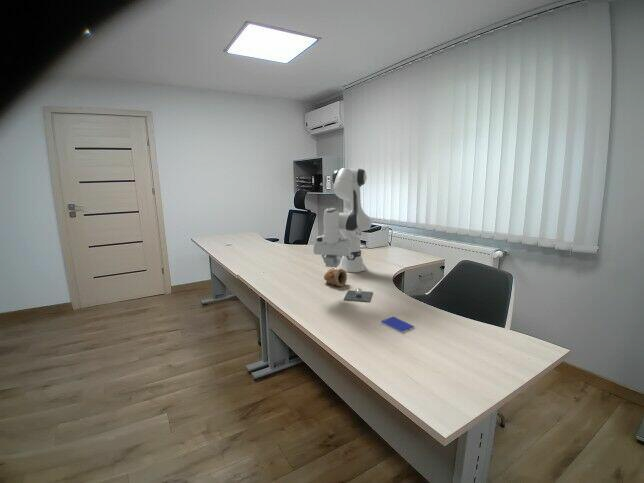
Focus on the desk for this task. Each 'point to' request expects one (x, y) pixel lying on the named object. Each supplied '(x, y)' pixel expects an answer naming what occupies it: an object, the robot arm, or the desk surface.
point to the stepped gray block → (331, 261)
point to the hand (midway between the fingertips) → (332, 262)
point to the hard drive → (397, 324)
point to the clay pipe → (336, 277)
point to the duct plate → (354, 298)
